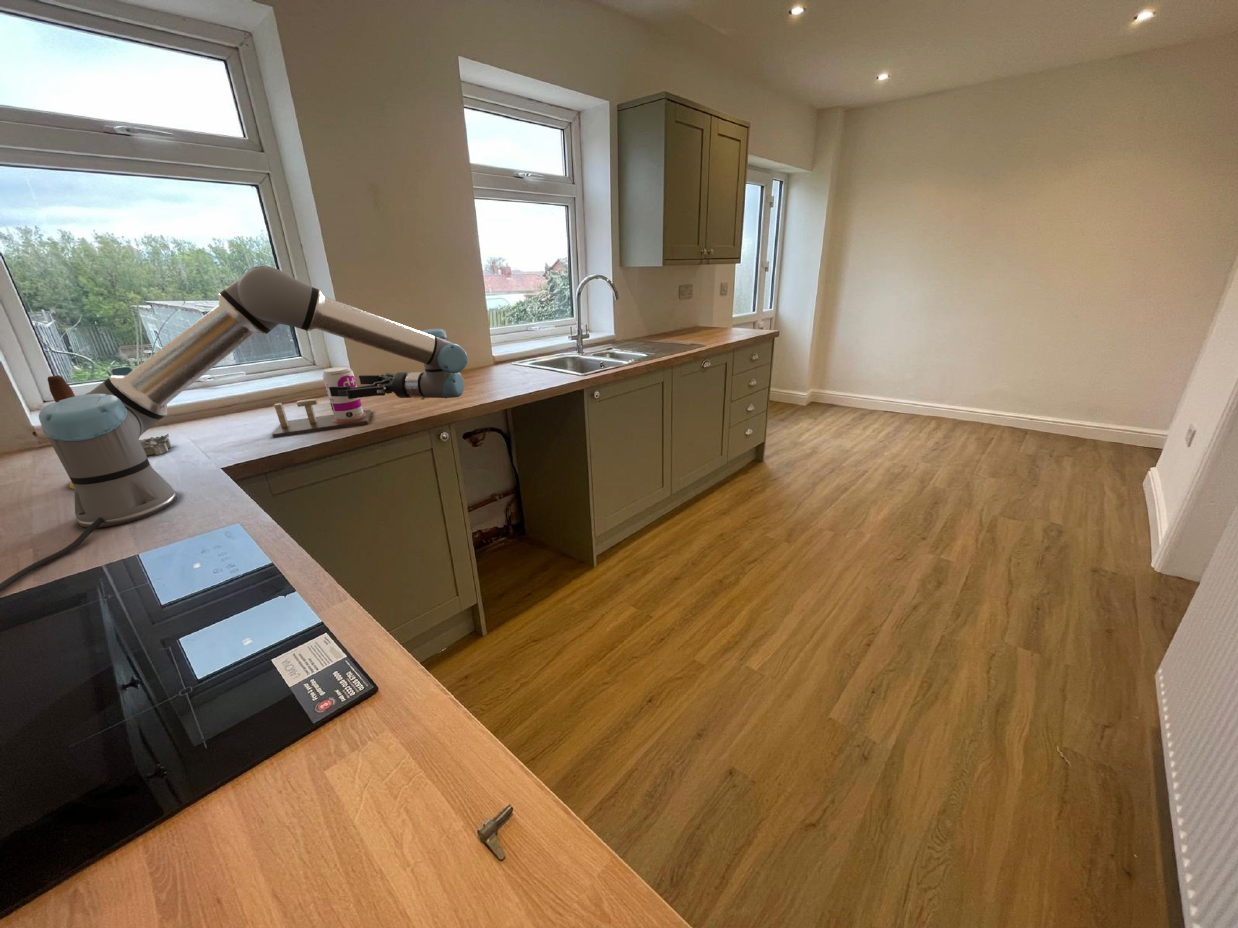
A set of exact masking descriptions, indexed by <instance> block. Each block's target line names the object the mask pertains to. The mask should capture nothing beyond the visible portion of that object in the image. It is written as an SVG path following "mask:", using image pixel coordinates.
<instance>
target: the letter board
mask: <svg viewBox="0 0 1238 928" xmlns="http://www.w3.org/2000/svg"><path fill="white" fill-rule="evenodd" d="M318 404H319V402H318V399H317V398H309V399H300V400H297V401H296V405H297V407H298V408H300V407H304V409H305V413H306V415H307V417H306V418H297V419H289V420H288V418H287V415H286V414H287V413H286V412H285V408H284V404H283V403H282V402H277V403H276V402H275V404H273V407H274V410H275V412H276V415H277V418H278V421H279V425H278V426H277V428H276V429H275V430H274V432H273V433H272V437H273V438H278V437H287V436H292V435H293V436H295V435H301V434H308V433H313V432H314V433H315V432H321V431H329V430H335V429H336V430H337V429H341V428H343V429H344V428H350V427H357V426H364V425H368V424H369V423H370V420H371V419H370V418H371V415H372V410H371V409H363V412H364V413H363V414H362V416H361V417H359V418H356V419H352V420H337V419H336V418H334V414H327V415H320V416H316V414H315V410H314V406H315V405H318Z"/></svg>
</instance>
